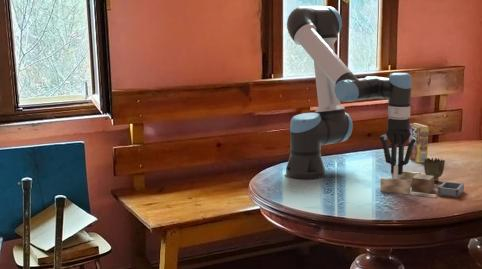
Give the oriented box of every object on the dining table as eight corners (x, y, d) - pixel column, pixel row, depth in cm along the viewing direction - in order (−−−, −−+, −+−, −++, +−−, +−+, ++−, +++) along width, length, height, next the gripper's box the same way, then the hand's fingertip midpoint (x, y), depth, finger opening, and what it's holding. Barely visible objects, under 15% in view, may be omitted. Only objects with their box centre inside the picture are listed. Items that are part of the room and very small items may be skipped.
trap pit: (437, 195, 211) (438, 187, 210) (444, 189, 218) (444, 181, 218) (457, 198, 208) (458, 189, 207) (463, 191, 215) (463, 183, 215)
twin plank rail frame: (380, 190, 218) (380, 178, 217) (392, 181, 230) (393, 169, 229) (435, 197, 208) (436, 184, 208) (445, 187, 220) (446, 175, 219)
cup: (441, 184, 224) (441, 163, 223) (420, 182, 228) (421, 160, 226) (446, 180, 230) (447, 158, 229) (426, 177, 234) (427, 156, 233)
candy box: (428, 162, 258) (429, 126, 255) (418, 163, 257) (419, 126, 254) (417, 158, 266) (418, 122, 263) (408, 158, 265) (409, 123, 262)
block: (411, 191, 217) (412, 177, 216) (416, 187, 222) (416, 173, 221) (429, 193, 214) (429, 179, 213) (433, 189, 219) (434, 175, 218)
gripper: (377, 117, 218) (375, 183, 222) (414, 120, 211) (411, 188, 216) (383, 114, 224) (381, 178, 229) (420, 117, 217) (417, 182, 222)
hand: (396, 182), depth 222 cm, fingers closed
